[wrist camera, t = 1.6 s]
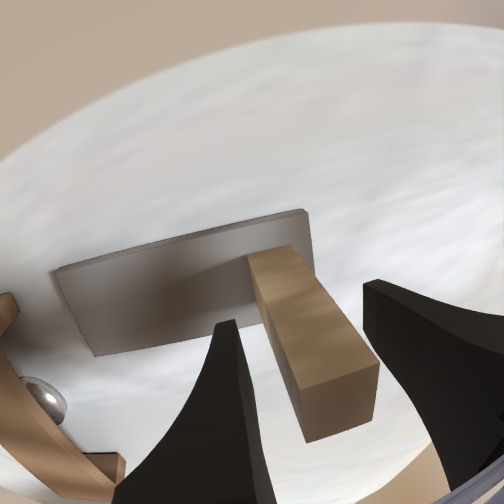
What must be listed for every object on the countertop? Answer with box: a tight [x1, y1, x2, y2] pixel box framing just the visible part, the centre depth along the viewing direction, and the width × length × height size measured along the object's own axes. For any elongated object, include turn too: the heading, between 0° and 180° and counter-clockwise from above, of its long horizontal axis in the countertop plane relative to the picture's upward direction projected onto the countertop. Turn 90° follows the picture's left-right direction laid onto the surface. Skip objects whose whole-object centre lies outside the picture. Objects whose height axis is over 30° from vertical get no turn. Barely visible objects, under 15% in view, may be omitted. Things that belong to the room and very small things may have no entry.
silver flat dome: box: [20, 377, 67, 425], centre depth 16 cm, size 4×4×1 cm
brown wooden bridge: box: [0, 293, 126, 502], centre depth 14 cm, size 16×6×4 cm, turn 11°
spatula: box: [55, 209, 380, 443], centre depth 11 cm, size 12×5×9 cm, turn 100°
